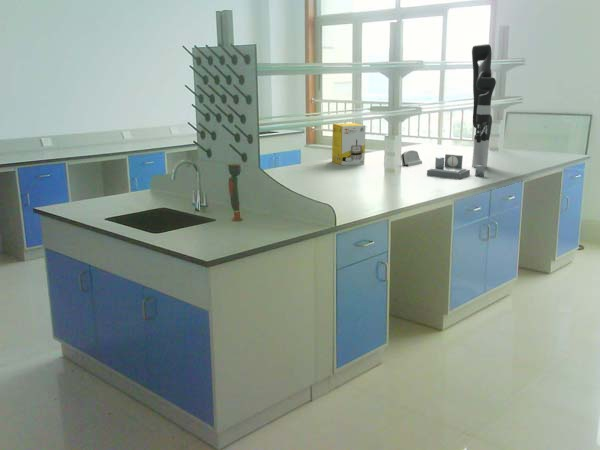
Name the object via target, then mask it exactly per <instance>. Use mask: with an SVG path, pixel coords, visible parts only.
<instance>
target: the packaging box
mask: <svg viewBox="0 0 600 450" xmlns="http://www.w3.org/2000/svg"><path fill="white" fill-rule="evenodd" d="M331 147H332V148H331V151H332V152H331V155H332V156H331V161H332V163H335V164H338V165H339V166H352V165H353V166H355V165H357V166H358V165H365V156H366V155H365V154H366V153H365V151H366V125H364V124H359V123H357V122H353V123H347V122H346V123H344V122H343V123H332V145H331Z"/></svg>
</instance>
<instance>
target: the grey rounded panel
mask: <svg viewBox="0 0 600 450" xmlns="http://www.w3.org/2000/svg"><path fill="white" fill-rule="evenodd" d="M419 155H420V154H419V152H418V151H417V150H407V151H405V152H403V153H402V154H400V160H401V166H406V165H407V166H408V167H411V166H416V165H422V164H423V161H422V160H421V158H420V156H419Z"/></svg>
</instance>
